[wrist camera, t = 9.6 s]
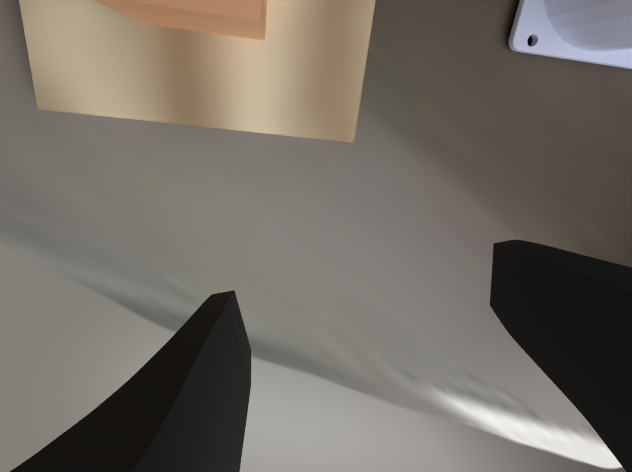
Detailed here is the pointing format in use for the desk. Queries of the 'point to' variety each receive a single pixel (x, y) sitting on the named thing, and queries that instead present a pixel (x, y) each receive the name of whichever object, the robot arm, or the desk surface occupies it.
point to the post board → (204, 67)
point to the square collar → (199, 15)
